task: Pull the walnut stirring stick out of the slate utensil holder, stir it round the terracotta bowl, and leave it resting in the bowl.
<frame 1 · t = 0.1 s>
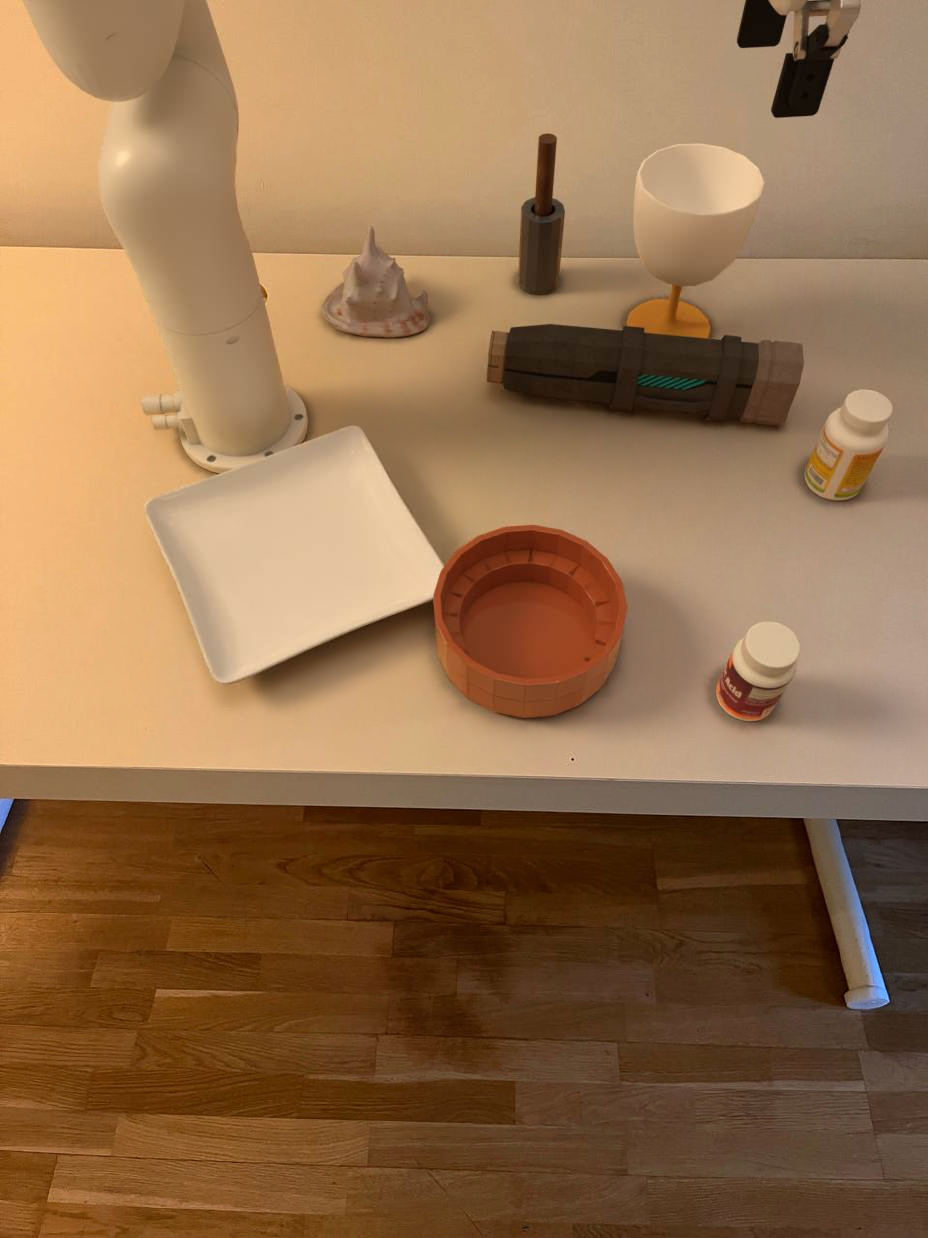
hand: (774, 78, 66), 31 cm above the table, tool pointing down, fingers open, 9 cm apart
supplement bottle: (831, 481, 86), on the table
stick: (542, 213, 95), in the holder
seashell: (380, 311, 100), on the table
cup: (667, 328, 98), on the table
pill bottle: (743, 698, 74), on the table
salad plate: (299, 565, 81), on the table, touching bowl
bowl: (526, 639, 77), on the table
holder: (538, 282, 102), on the table
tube: (631, 404, 92), on the table
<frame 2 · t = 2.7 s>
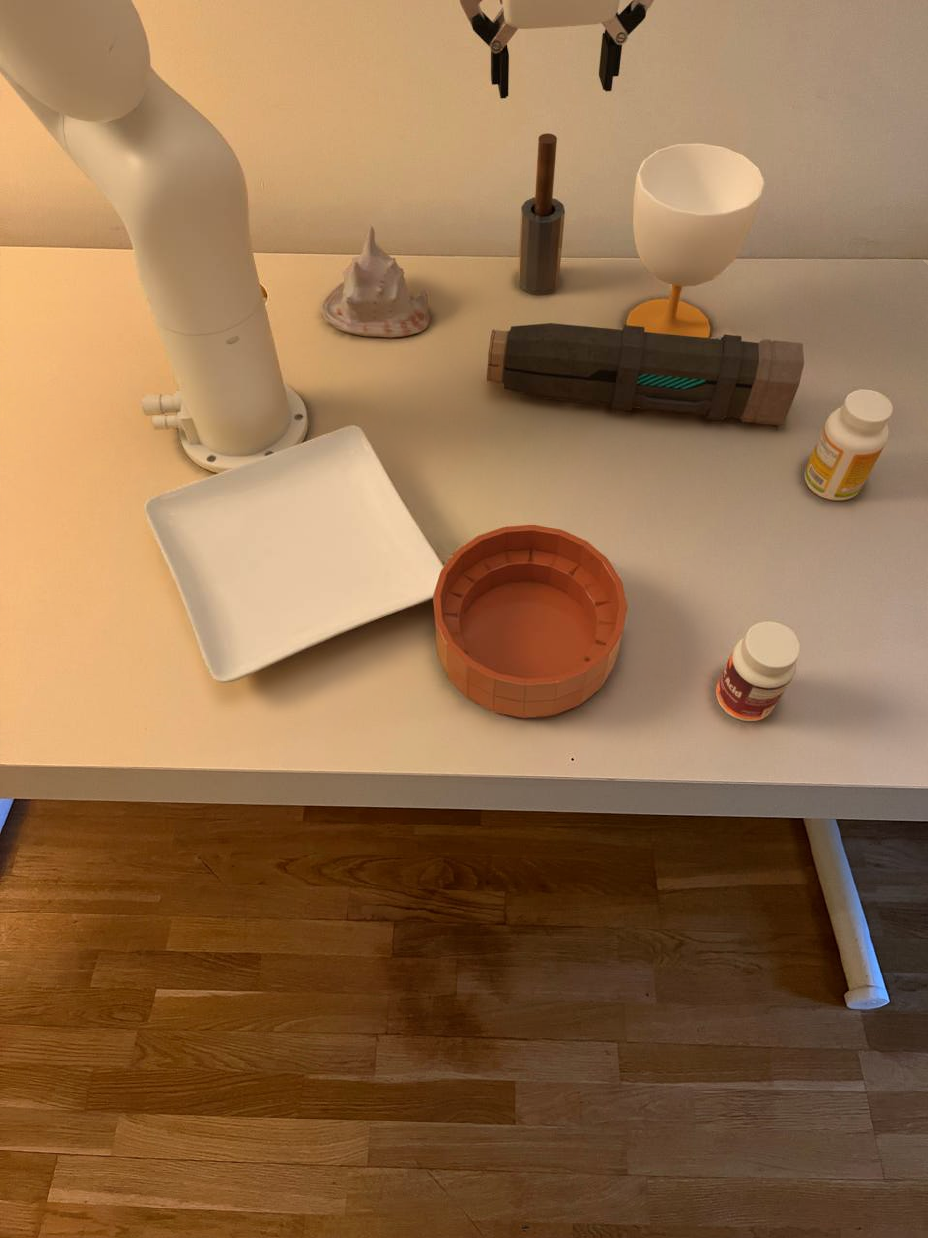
hand: (553, 87, 85), 21 cm above the table, tool pointing down, fingers open, 9 cm apart
nothing on the table moved.
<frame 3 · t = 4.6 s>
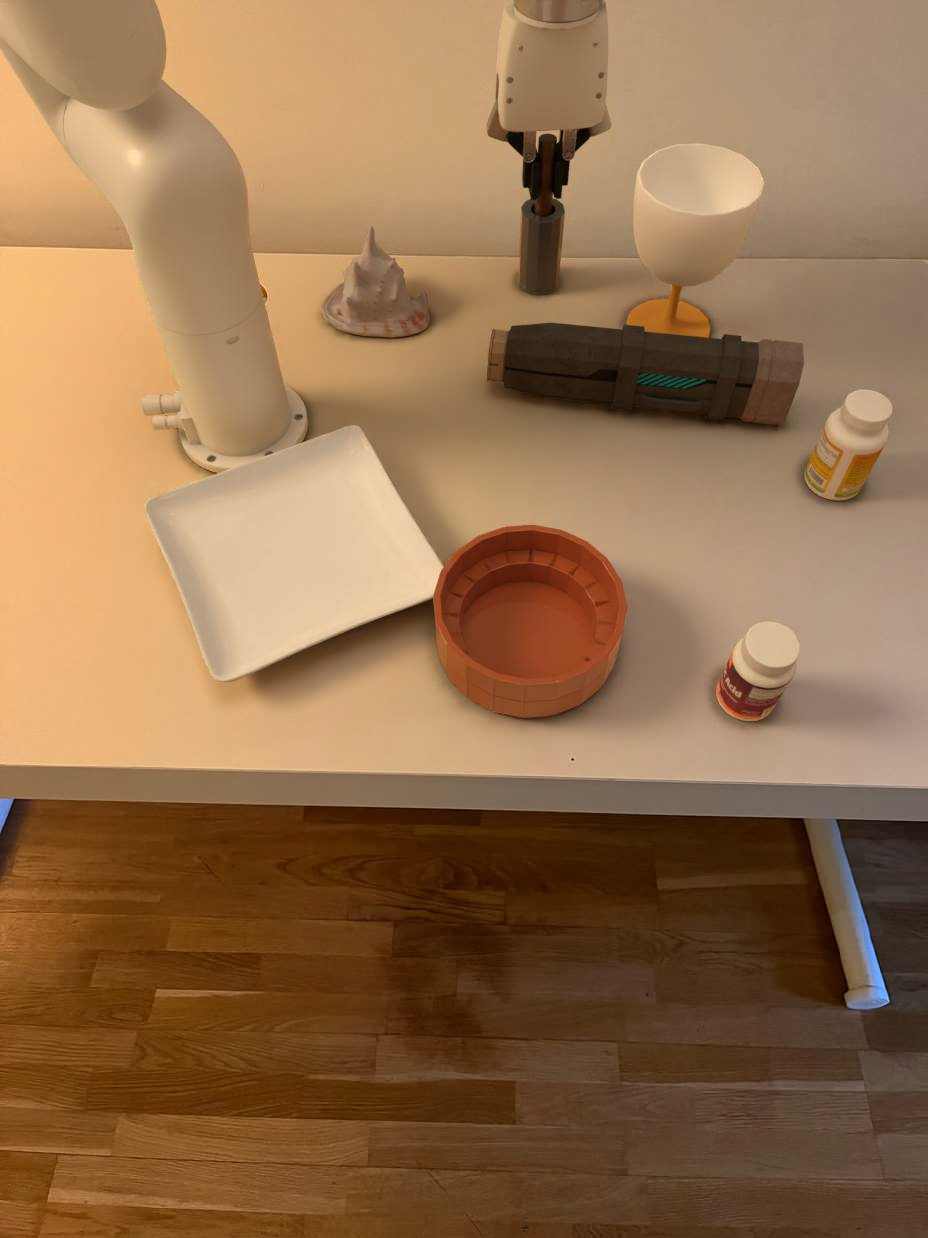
hand: (544, 190, 93), 11 cm above the table, tool pointing down, fingers closed on stick, 1 cm apart
stick: (542, 213, 95), in the holder, touching gripper
everything else where it was.
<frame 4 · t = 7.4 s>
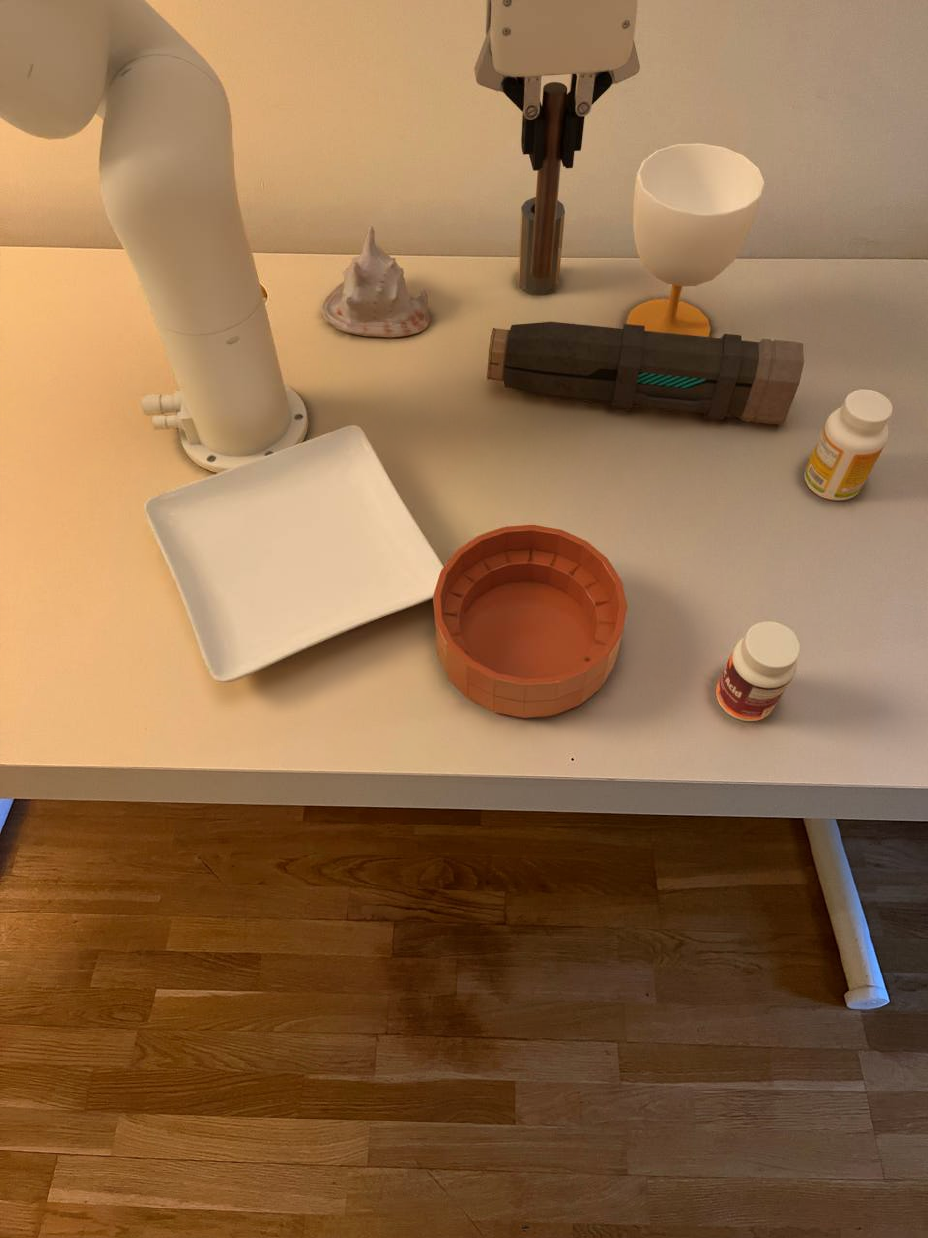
hand: (550, 158, 72), 25 cm above the table, tool pointing down, fingers closed on stick, 1 cm apart
stick: (547, 188, 74), point 22 cm above the table, touching gripper
everything else where it was.
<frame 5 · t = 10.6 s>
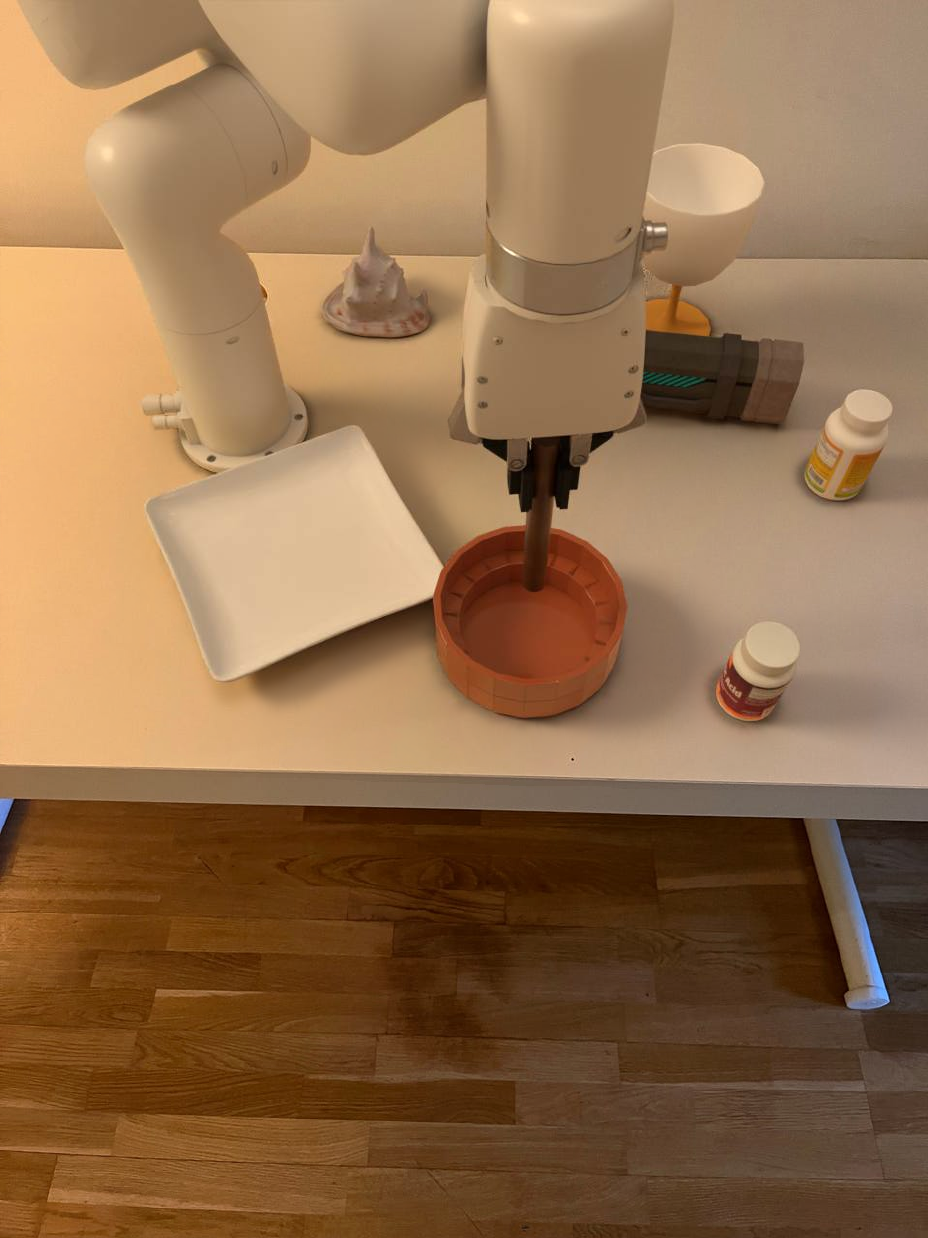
hand: (541, 493, 61), 19 cm above the table, tool pointing down, fingers closed on stick, 1 cm apart
stick: (539, 517, 63), point 16 cm above the table, touching gripper
everything else where it was.
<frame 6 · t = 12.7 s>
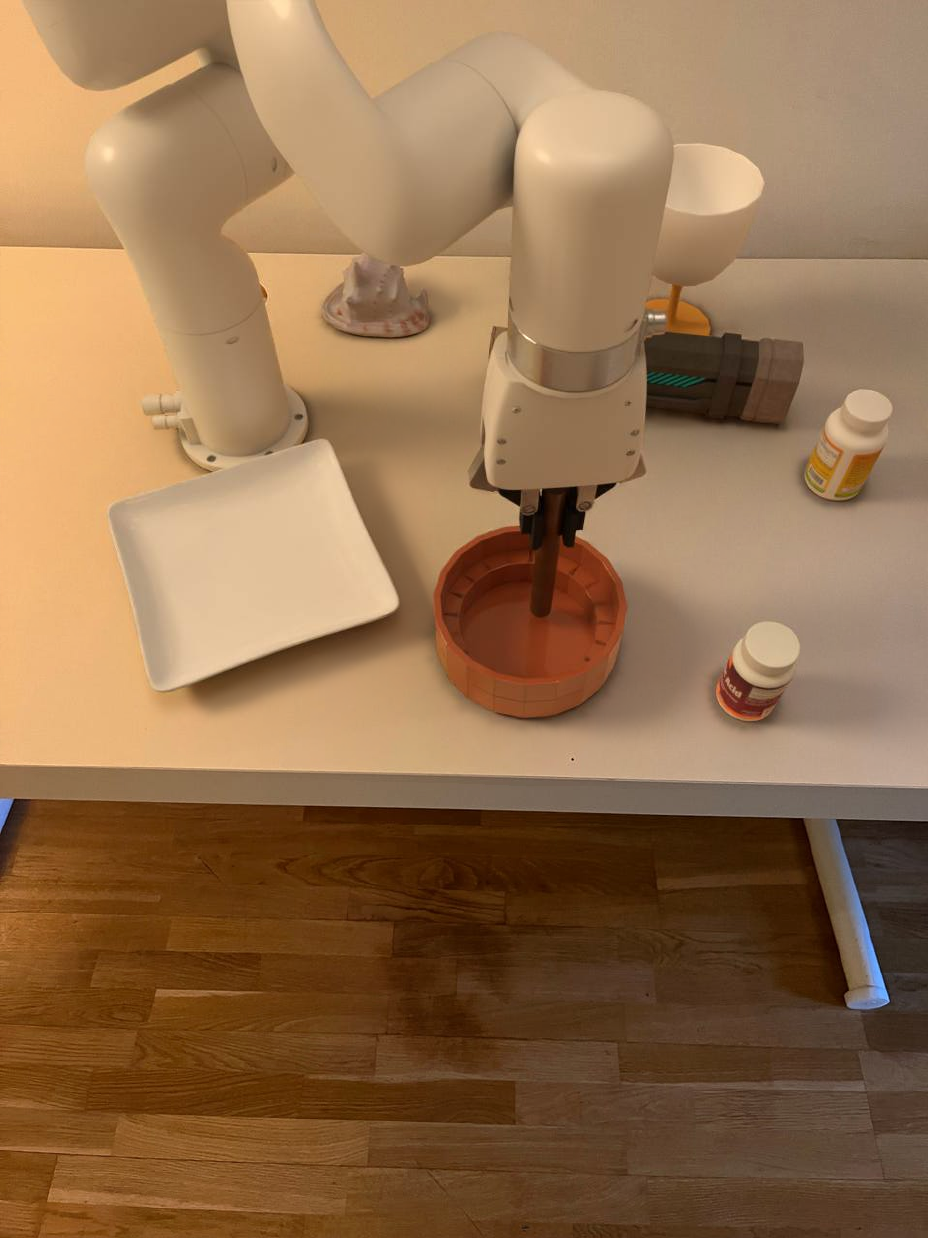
hand: (549, 532, 67), 12 cm above the table, tool pointing down, fingers closed on stick, 1 cm apart
stick: (547, 552, 69), point 10 cm above the table, touching gripper
salad plate: (255, 576, 81), on the table
everything else where it was.
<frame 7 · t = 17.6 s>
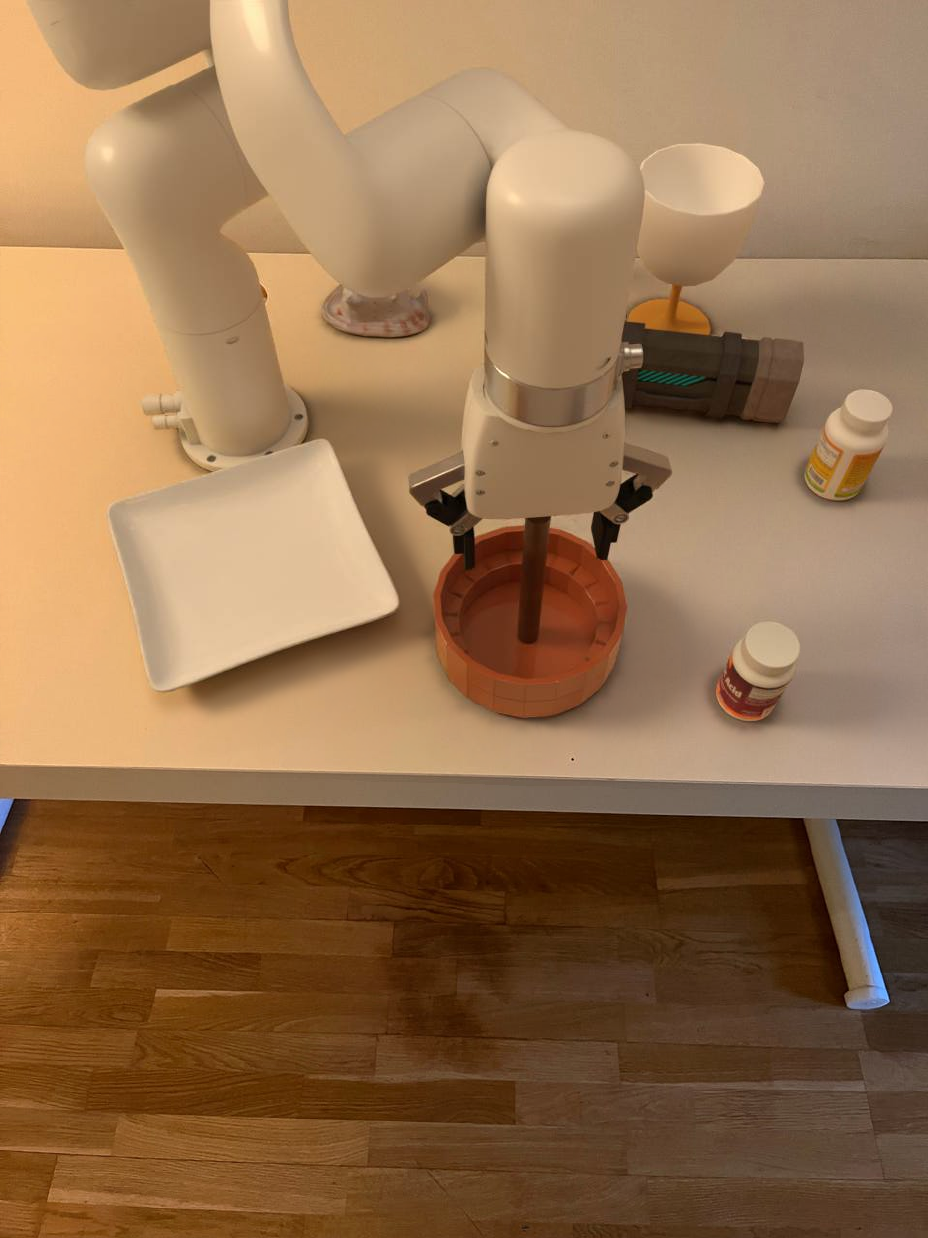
hand: (533, 549, 66), 13 cm above the table, tool pointing down, fingers open, 9 cm apart
stick: (532, 580, 69), in the bowl, point 9 cm above the table
everything else where it was.
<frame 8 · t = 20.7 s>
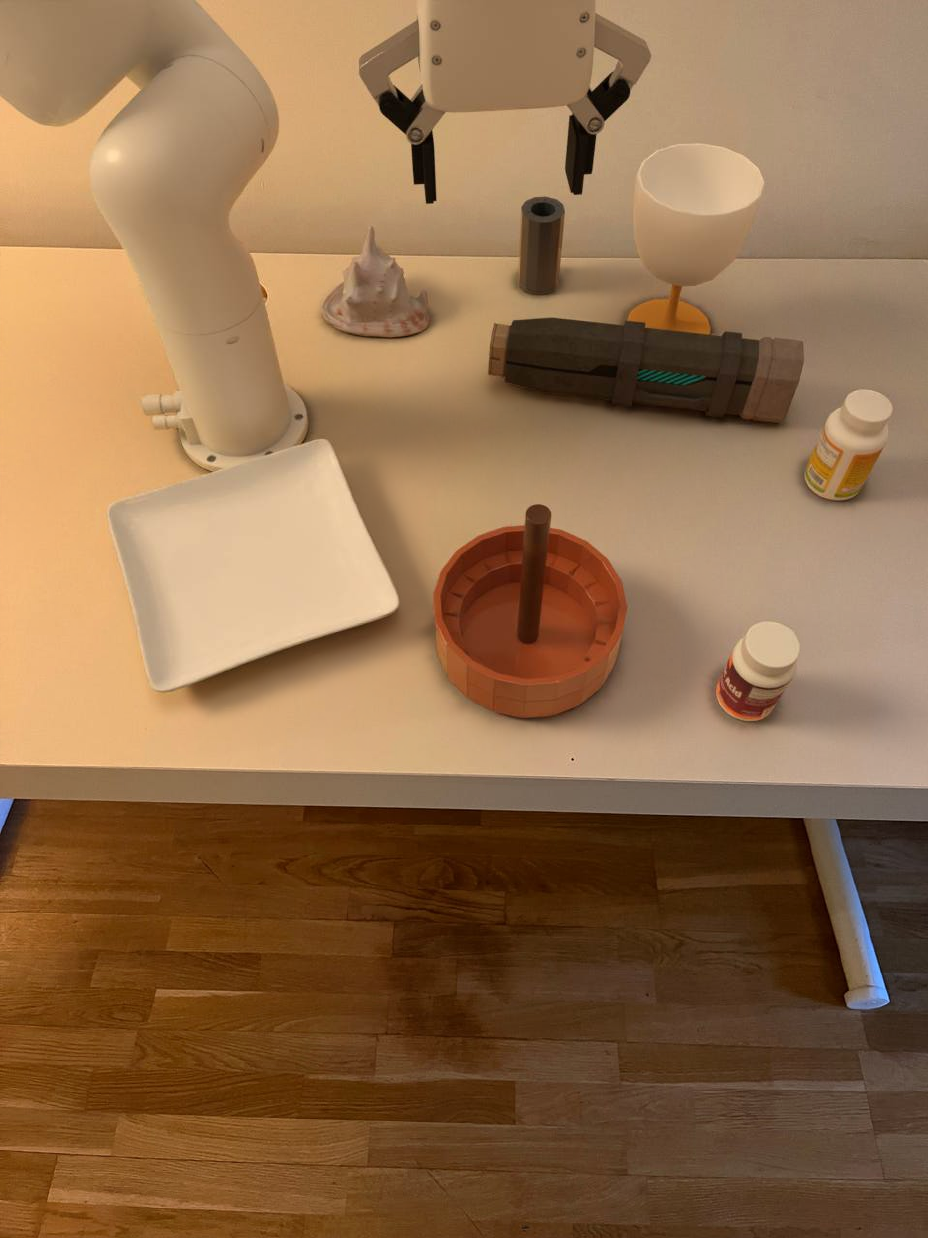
hand: (501, 187, 60), 30 cm above the table, tool pointing down, fingers open, 9 cm apart
nothing on the table moved.
at the end: stick inside the target area in the bowl (0.1 cm from its centre), point 8.6 cm above the bowl's base; stick moved 47.4 cm from its start; the gripper is holding nothing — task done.
